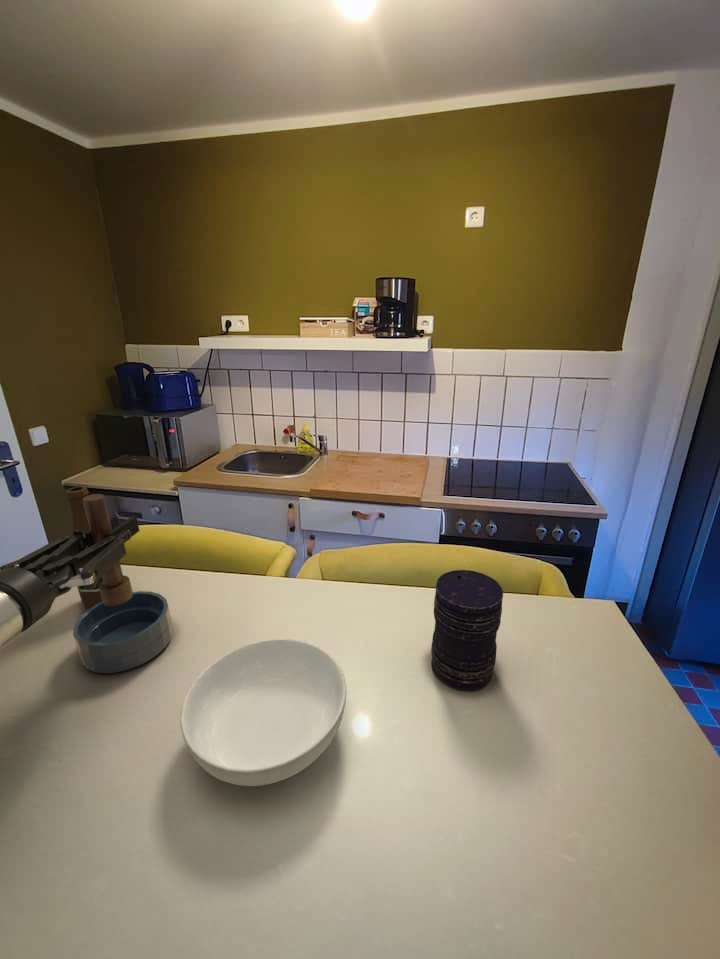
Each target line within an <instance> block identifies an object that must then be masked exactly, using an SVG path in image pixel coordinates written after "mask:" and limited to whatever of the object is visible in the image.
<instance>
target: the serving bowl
mask: <svg viewBox="0 0 720 959" xmlns="http://www.w3.org/2000/svg"><path fill="white" fill-rule="evenodd" d="M346 701H347V683H346V678H345V675H344V672H343V669H342V668H341V666H340V664H339V663H338V662H337V661H336V659H335V658H334V657H333V656H332V655H331V654H330V653H329V652H328V651H326V650H324V649H323V648H321V647H319V646H318V645H316V644H314V643H310V642H308V641H303V640H299V639H293V638H269V639H262V640H258V641H253V642H249V643H247V644H244V645H241V646H238V647H236V648H234V649H232V650H230V651H228V652H226V653H223V655H221V656H219V657H218V658H217V659H215V660H214V661H212V662H211V663H210V664H209V665H207V666H206V667H205V668H204V669H203V670H202V671H201V672H200V673H199V674H198V676H197V677H196V678H195V679H194V681H193V682H192V684H191V685H190V687H189V689H188V691H187V692H186V694H185V697H184V699H183V703H182V706H181V711H180V728H181V729H180V730H181V735H182V738H183V740H184V742H185V744H186V747H187V749H188V751H189V753H190V754H191V756H192V757H193V759H194V760H195V762H196V763H197V764H198V765H199V766H200V767H201V768H202V769H203V770H204V771H205V772H207V773H208V774H209V775H211V776H212V777H214V778H215V779H217V780H220V781H222V782H225V783H228V784H231V785H235V786H242V787H258V786H259V787H261V786H267V785H272V784H274V783H279V782H282V781H284V780H286V779H289V778H291V777H294V776H295V775H296V774H298V773H300V772H302V771H303V770H305V769H306V768H307V767H309V766H311V764H312V763H314V762H315V761H316V760H317V759H318V758H319V757H321V755H322V754H323V753H324V752H325V750H327V748H328V746H330V744H331V742H332V741H333V739H334V737H335V736H336V734H337V733H338V730H339V727H340V725H341V722H342V719H343V715H344V712H345V706H346Z"/></svg>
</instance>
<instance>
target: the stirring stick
mask: <svg viewBox="0 0 720 959" xmlns="http://www.w3.org/2000/svg"><path fill="white" fill-rule="evenodd" d="M83 503H84V507H85V511H86V515H87V519H88V523H89V527H90V530H91V534H92V538H93V542H94V544H96V543H98V542H100V541H101V540H103V539H105V538H106V534H107V533H108V532H110V531H111V530H112V527H111V523H110V514H109V510H108V507H107V506H108V505H107V502H106V498H105V495H104V494H103V493H93V494H88V496H86V497H84V498H83ZM102 578H103V582H101V583H100V585H99V590H100V594H101V598H102V602H103V604H104V605H106V606H117V605H121V604H123V603H125V602H127V601H128V600H130V599H131V598H132V596H133V592H134V591H133V587H132V583H131V580H130V579H131V578H130V577H129V576H128V575H124V574H123V569H122V565H121V560H119V561H118V562H117V563H116V564H115V565H114V566H113V567H112V568H111V569H110V570H108V571H107V572H106V573H105V574H104V575H103V576H102Z"/></svg>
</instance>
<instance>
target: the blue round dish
mask: <svg viewBox="0 0 720 959" xmlns="http://www.w3.org/2000/svg"><path fill="white" fill-rule="evenodd" d="M132 592H133V596H132V598H131V599H130V600H128V601H127V602H125V603H123V604H121V605H117V606H106V605H104V604H103V602H100V603H98V604H96V605H95V606H93V607H92V608H90V609H88V610H87V609H86V611H85V612H84V613H83V614H81V615H80V616H79V618H78V619H77V620H76V621H75V624H74V626H73V627H72V628H73V629H72V631H73V632H72V636H73V639H74V642H75V646H76V649H77V652H78V657H79V659H80V662H81V664H82V665H83V666H84V668H85V669H86V670H89V671H92V672H93V673H98V674H100V673H101V674H114V673H120V672H125V671H127V670H130V669H133V668H136V667H138V666H141V665H143V664H145V663H146V662H148V661H150V660H151V659H153V658H155V657H156V656H157V655H158V654H159V653H161V652H162V651H163V650H164V649H165V648H166V647H167V645H168V644H169V643H170V641H171V640H172V636H173V632H174V627H173V623H172V618H171V617H172V616H171V612H170V608H169V604H168V600H167V598H165V597H164V596H163V595H162V594H160V593H157V592H153V591H149V590H148V591H143V590H138V591H132Z"/></svg>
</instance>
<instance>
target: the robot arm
mask: <svg viewBox="0 0 720 959" xmlns="http://www.w3.org/2000/svg"><path fill="white" fill-rule="evenodd" d="M109 518H110V523H111V527H112V530H111V531H110V532H108V533H107V534H106V538H105V539H103V540H101V541H100V542H98V543H96V544H94V542H93V538H92V534H91V530H89V531H87V532H86V533H84V534H83V533H82V530H75V531H73V530H72V531H73V532H74V537H72V538H70V535H63V536H60V537H59V538H57V539H55V540H53V541H51V542H49V543H47V544H45V545H43V546H42V547H40V548H38V549H35V550H33V551H32V552H30V553H28V554H26V555H24V556H22V557H21V558H19V559H16V560H14V561H11V562H9V563H6V564H3V565H1V566H0V650H2V649H3V648H4V647H6V646H7V645H8V644H10V643H11V642H13V641H14V640H15V639H16V638H18V637H19V636H20V634H22V633H24V632H26V631H28V629H30V628H31V627H32V626H34V625H35V624H36V623H38V622H39V621H40V620H41V619H43V618H44V617H45V616H46V615H47V614H48V613H49V612H50V610H51V608H52V606H53V604H54V602H55V600H56V598H58V597H60V596H62V595H65V594H67V593H68V592H70V591H71V590H72V589H73V588H75V587H77V586H82V585H83V586H84V588H85V590H91V589H93V588H95V586H96V584H97V582H98V580H99V579H100V578H101V577H102V576H103V575H104V574H105V573H106V572H107V571H108V570H110V569H111V568H112V567H113V566H114V565H115V564H116V563H117V562H118V561H121V559H123V558H124V557H125V556H126V555H127V549H126V546H125V544H126V543H127V542H129V541H130V540H131V539H132V537H133V536H135V535H137V533H139V532H140V527H139V522H138V518H137V516H134V515H132V516H130V517H129V518H128V519H126V520H125V521H123V522H122V523H120V522H119V518H118V515H111V516H109ZM119 523H120V524H119ZM86 546H88V548H86Z"/></svg>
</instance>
